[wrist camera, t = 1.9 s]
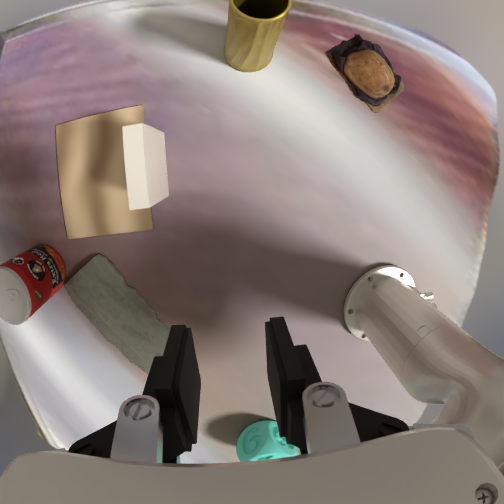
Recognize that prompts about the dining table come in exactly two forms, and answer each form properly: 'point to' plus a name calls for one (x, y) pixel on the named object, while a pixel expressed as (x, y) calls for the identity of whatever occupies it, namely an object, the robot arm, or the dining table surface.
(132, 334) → the stone slab
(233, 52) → the vase
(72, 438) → the dining table surface
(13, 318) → the canned food
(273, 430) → the decorative dice
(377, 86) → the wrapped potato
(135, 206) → the tile
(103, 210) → the mat
